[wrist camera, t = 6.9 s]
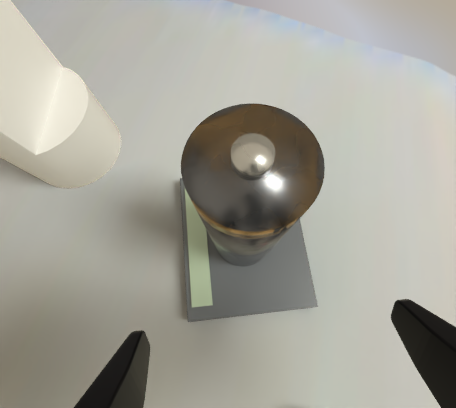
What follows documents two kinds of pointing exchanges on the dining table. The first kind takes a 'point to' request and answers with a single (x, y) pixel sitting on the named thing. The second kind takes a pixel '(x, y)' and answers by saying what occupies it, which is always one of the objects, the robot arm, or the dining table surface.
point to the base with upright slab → (49, 111)
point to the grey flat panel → (242, 274)
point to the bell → (251, 177)
